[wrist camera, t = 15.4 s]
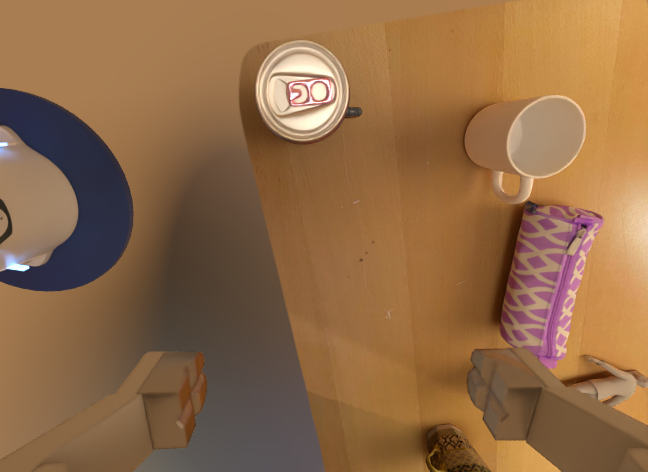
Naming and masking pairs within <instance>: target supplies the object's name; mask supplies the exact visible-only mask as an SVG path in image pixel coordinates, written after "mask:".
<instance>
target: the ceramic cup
mask: <svg viewBox="0 0 648 472" xmlns="http://www.w3.org/2000/svg"><path fill="white" fill-rule="evenodd" d="M427 444H428V451H429V455H427V456H426V464H427V466H428V468H429V470H430V472H491V470H490V469H489V468H488V466H487V465H486V463H485V462H484V461H483V460H482V458H481V457H480V456H479V455H478V453H477V452H476V450H475V449H474V448H473V446H472V445H471V443H470V442H469V441H468V439H467V438H466V437H465V435H464V434H463V433H462V431H461V430H459V429H458V428H456V427H454V426H453V425H451V424H446V425H439V426H435V427H434V428H433V429H432V430H431V431H430V432H429V433H428V434H427ZM429 458H430V461H431V463H430V461H429Z"/></svg>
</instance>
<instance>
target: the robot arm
mask: <svg viewBox="0 0 648 472" xmlns="http://www.w3.org/2000/svg"><path fill="white" fill-rule="evenodd" d="M77 220H78V203H77V198H76V195H75V192H74V190H73V188H72V186H71V184H70V182H69V181H68V179H67V178H66V176H65V175H64V174H63V172H62V171H61V170H60V169H59V168H58V167H57V166H56V165H55V164H54V163H53V162H51V161H50V160H49V159H47V158H46V157H44V156H43V155H41V154H40V153H38V152H36V151H35V150H33V149H31V148H30V147H29V146H27V145H26V144H25V143H24V142H23V140H22V139H21V138H20V137H19V136H18V135H17V134H16V133H15V132H14V131H13V130H12V129H11V128H9V127H7V126H4V125H0V271H3V270H6V269H13V270H20V271H25V270H27V269H29V266H40V265H43V264H45V263H46V262H47V261H48V260H49V258H50V256H51V254H52V252H53V250H54V249H55V248H56V247H57V246H59V245H60V244H62V243H63V242H65V241H66V240H67V239H68V238H69V237H70V236H71V234H72V233H73V231H74V229H75V227H76V224H77ZM19 264H23V265H19ZM25 265H29V266H25ZM471 362H472V363H473V365H474V367H473V368H472V369H471V370H470V371H469V372H468V376H467V388H468V393H469V395H470V398H471V400H472V402H473V404H474V405H475V406H476V407H477V408H479V409H480V410H481V411H483V412H484V415H483V420H484V422H485V424H486V425H487V427H488V429H489V430H490V432H491V434H492V435H493V437H494V439H495V440H527V441H526V442H527V443H528V444H529V445H530V446H531V447H533V448H534V449H535V450H536V451H538V452H539V453H540V454H541V455H542V456H544V457H545V458H546V459H547V460H548V461H550V462H551V463H552V464H553V465H555V466H556V467H557V468H558V469H559V470H561V471H562V472H648V425H646V424H644V423H642V422H640V421H638V420H636V419H634V418H632V417H630V416H628V415H626V414H624V413H622V412H620V411H618V410H616V409H614V408H612V407H610V406H608V405H606V404H604V403H602V402H600V401H598V400H596V399H594V398H592V397H590V396H588V395H586V394H584V393H582V392H581V391H579V390H577V389H575V388H573V387H566V386H565V385H564V384H563V383H562V382H561V381H560V380H559V379H558V378H557V377H556V376H555V375H554V374H553V373H552V372H551V371H550V370H549V369H548V368H547V367H546V366H545V365H544V364H543V363H542V362H541V361H540V360H539V359H538V358H537V357H536V356H534V355H533V354H532V353H531V352H530V351H529V350H528V349H526V348H524V347H521V348H507V349H474V351H473V352H472V355H471ZM203 366H204V357H203V354H202V353H201V352H148V353H146V354H145V355H144V356H143V357H142V359H141V360H140V361H139V363H138V364H137V365H136V367H135V368H134V369H133V371H132V372H131V374H130V375H129V376H128V377H127V379H126V380H125V381H124V383H123V384H122V385H121V387H120V388H119V389H118V391H117V392H116V393H115V395H107V396H106V397H104V398H102V399H101V400H99V401H97V402H96V403H94V404H93V405H91V406H89V407H88V408H86V409H84V410H82V411H81V412H79V413H78V414H76V415H74V416H72V417H71V418H69V419H67V420H66V421H64V422H62V423H61V424H59V425H57V426H56V427H54V428H52V429H51V430H49V431H47V432H46V433H44V434H42V435H41V436H39V437H37V438H36V439H34V440H33V441H31V442H29V443H27V444H26V445H24V446H22V447H21V448H19V449H17V450H16V451H14V452H13V453H11V454H9V455H7V456H6V457H4V458H2V459H1V460H0V472H133V471H134V470H135V469H136V468H137V467H138V466H139V465H140V464H141V463H142V462H143V461H144V460H145V459H146V458H147V457H148V456H149V455H150V454H151V453H152V452H153V449H170V448H186V447H187V446H188V443H189V441H190V438H191V436H192V433H193V431H194V428H195V425H196V424H195V416H196V415H197V414H198V413H199V412H201V410H202V408H203V405H204V402H205V397H206V392H207V379H206V375H205V374H203V372H201V370H202V368H203Z"/></svg>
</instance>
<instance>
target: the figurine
mask: <svg viewBox="0 0 648 472" xmlns="http://www.w3.org/2000/svg"><path fill="white" fill-rule="evenodd" d="M584 356H586V357H585V358H587V357H589V358H587V359H591V360H587V361H593V362H596V363H597V364H598V365H600V366H601V367H603V368H605V369H606V370H608V371H609V372H611V373H612V374H613V376H610V377H607V378H602V379H592V380H584V382H582V383H577V384H574V385H570V386H567V387H573V388H575V389H577V390H579V391H581V392H582V393H584V394H586V395H588V396H590V397H592V398H594V399H596V400H598V401H600V400H602V399H604V398H607V397H609V396H613V395H615V396H613V397H612V398H610V399H608V400H605V401H603V402H602V403H604V404H606V405H608V406H610V407H613V406H616V405H618V404H620V403H621V402H623V401H625V400H627V399H629V398H630V397H631V396H632V394H633V393H634V392H635V389H636V386H637V385H639V386H641V387H643V388H645V387H648V378H647V377H645V376H644V375H643V374H641V373H640V372H638V371H637V370H634V371H630V372H629V371H627V372H625V371H621V370H618V369H616V368H614V367H613V366H611V365H609V364H608V363H606V362H604V361H602V360H598V359H595V358H593V357H590V356H587V355H584Z"/></svg>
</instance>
